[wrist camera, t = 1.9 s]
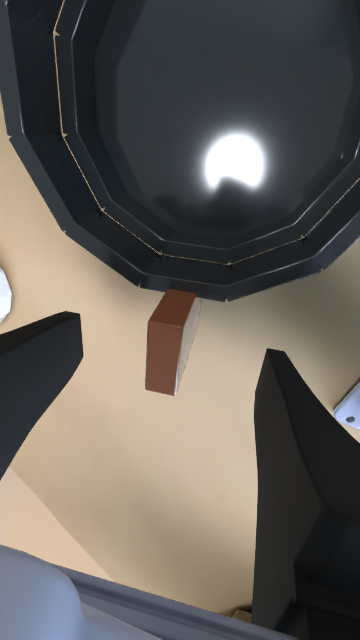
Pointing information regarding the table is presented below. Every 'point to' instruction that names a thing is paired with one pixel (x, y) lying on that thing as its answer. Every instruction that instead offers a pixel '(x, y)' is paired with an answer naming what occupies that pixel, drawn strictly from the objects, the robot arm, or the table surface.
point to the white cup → (4, 296)
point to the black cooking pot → (190, 142)
